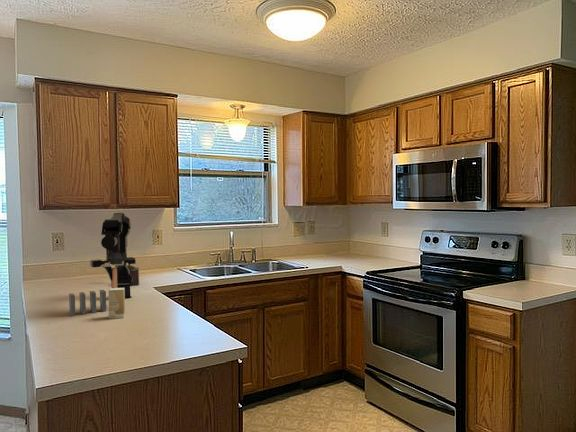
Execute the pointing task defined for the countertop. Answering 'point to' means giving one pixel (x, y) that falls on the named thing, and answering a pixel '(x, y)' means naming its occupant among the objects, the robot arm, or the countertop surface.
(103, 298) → the domino
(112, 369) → the countertop surface
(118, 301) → the skincare box
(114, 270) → the domino
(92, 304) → the domino
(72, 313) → the domino
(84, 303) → the domino
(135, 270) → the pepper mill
